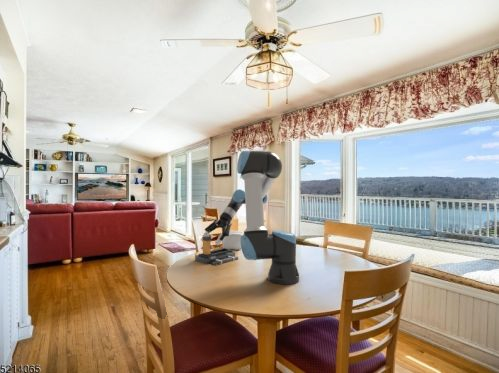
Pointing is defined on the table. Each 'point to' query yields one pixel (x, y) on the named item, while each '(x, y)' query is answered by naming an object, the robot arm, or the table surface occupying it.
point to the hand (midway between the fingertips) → (209, 242)
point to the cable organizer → (233, 240)
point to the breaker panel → (214, 256)
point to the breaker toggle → (206, 245)
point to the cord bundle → (224, 260)
